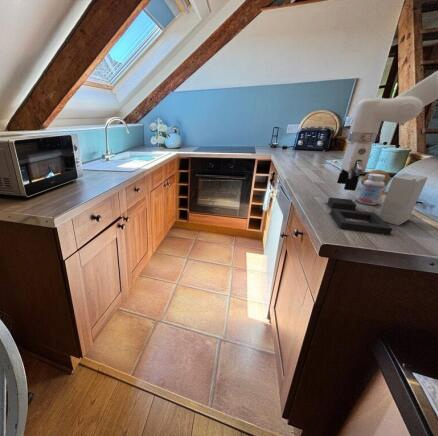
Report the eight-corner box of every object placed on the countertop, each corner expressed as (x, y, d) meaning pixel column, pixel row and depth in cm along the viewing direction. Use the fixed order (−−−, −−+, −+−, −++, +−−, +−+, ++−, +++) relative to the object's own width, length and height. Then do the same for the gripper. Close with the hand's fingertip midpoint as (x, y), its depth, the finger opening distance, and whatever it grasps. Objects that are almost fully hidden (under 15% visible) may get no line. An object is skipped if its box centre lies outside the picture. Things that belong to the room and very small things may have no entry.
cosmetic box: (386, 215, 85) (402, 172, 79) (409, 220, 80) (429, 176, 74) (375, 219, 81) (391, 175, 75) (399, 226, 76) (419, 179, 70)
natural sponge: (357, 191, 111) (364, 170, 107) (359, 187, 117) (365, 167, 113) (384, 195, 105) (392, 172, 101) (384, 191, 111) (392, 169, 108)
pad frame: (372, 218, 83) (374, 212, 82) (390, 234, 71) (392, 228, 70) (330, 213, 87) (331, 208, 86) (340, 228, 75) (341, 222, 75)
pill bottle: (353, 201, 99) (362, 173, 95) (364, 199, 101) (373, 172, 96) (370, 206, 94) (380, 177, 89) (381, 204, 95) (391, 175, 91)
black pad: (349, 205, 94) (350, 199, 93) (354, 211, 89) (356, 204, 88) (327, 203, 97) (329, 197, 96) (331, 208, 91) (333, 202, 90)
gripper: (385, 140, 75) (366, 194, 81) (366, 136, 89) (350, 182, 96) (355, 140, 77) (339, 191, 84) (341, 136, 92) (328, 180, 99)
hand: (345, 186), depth 90 cm, fingers open, 9 cm apart
